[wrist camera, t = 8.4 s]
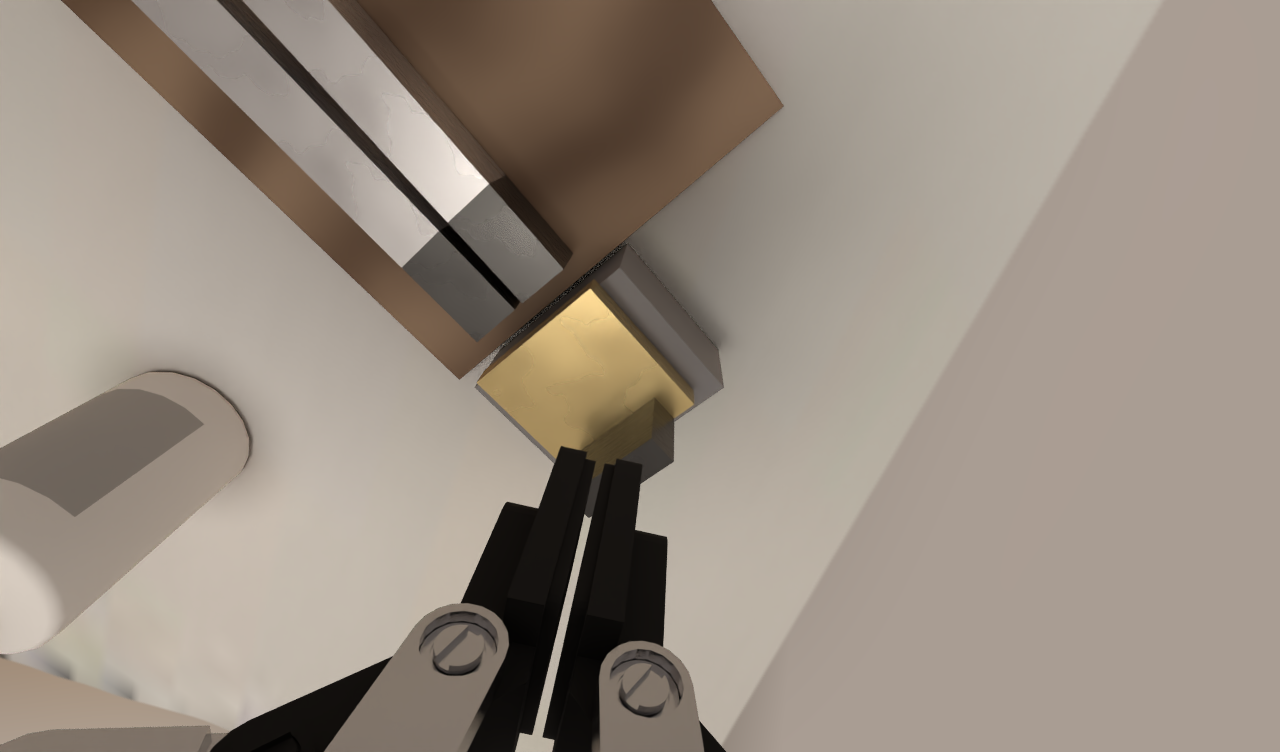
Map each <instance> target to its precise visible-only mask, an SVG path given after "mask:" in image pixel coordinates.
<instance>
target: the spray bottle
mask: <svg viewBox="0 0 1280 752" xmlns="http://www.w3.org/2000/svg"><path fill="white" fill-rule="evenodd" d="M248 456H249V437H248V434H247V431H246V428H245V425H244V422H243V420H242V419H241V418H240V416H239V415H238V413H237V412H236V410H235V409H234V407H233V406H232V405H231V404H230V403H229V402H228V401H227V400H226V399H225V398H224V397H222V396H221V395H220V394H219V393H218V392H217V391H216V390H214V389H213V388H211V387H209V386H207V385H205V384H204V383H202V382H200V381H198V380H196V379H195V378H191V377H188V376H184V375H181V374H177V373H174V372H148V373H145V374H142V375H139V376H136V377H133V378H130V379H128V380H127V381H125V382H123V383H121V384H119V385H117V386H115V387H113V388H112V389H110V390H108V391H106V392H104V393H102V394H100V395H99V396H97V397H95V398H93V399H91V400H89V401H87V402H86V403H84V404H82V405H80V406H78V407H76V408H74V409H73V410H71V411H69V412H67V413H65V414H63V415H61V416H59V417H58V418H56V419H54V420H52V421H50V422H48V423H46V424H45V425H43V426H41V427H39V428H37V429H35V430H33V431H32V432H30V433H28V434H26V435H24V436H22V437H20V438H19V439H17V440H15V441H13V442H11V443H9V444H7V445H6V446H4V447H2V448H0V654H12V653H18V652H23V651H27V650H31V649H35V648H38V647H40V646H42V645H44V644H45V643H47V642H48V641H49V640H51V639H52V638H53V637H55V636H56V635H57V634H59V633H60V632H61V631H62V630H63V629H65V628H66V627H67V626H68V625H69V624H70V623H71V622H72V621H74V620H75V619H76V618H77V617H78V616H79V615H80V614H81V613H83V612H84V611H85V610H86V609H87V608H88V607H89V606H90V605H92V604H93V603H94V602H95V601H96V600H97V599H98V598H100V597H101V596H102V595H103V594H104V593H105V592H106V591H107V590H109V589H110V588H111V587H112V586H113V585H114V584H115V583H116V582H118V581H119V580H120V579H121V578H122V577H123V576H124V575H125V574H127V573H128V572H129V571H130V570H131V569H132V568H133V567H134V566H136V565H137V564H138V563H139V562H140V561H141V560H142V559H143V558H145V557H146V556H147V555H148V554H149V553H150V552H151V551H152V550H154V549H155V548H156V547H157V546H158V545H159V544H160V543H162V542H163V541H164V540H165V539H166V538H167V537H168V536H169V535H171V534H172V533H173V532H174V531H175V530H176V529H177V528H178V527H180V526H181V525H182V524H183V523H184V522H185V521H186V520H187V519H189V518H190V517H191V516H192V515H193V514H194V513H195V512H196V511H198V510H199V509H200V508H201V507H202V506H203V505H204V504H205V503H207V502H208V501H209V500H210V499H211V498H212V497H213V496H214V495H216V494H217V493H218V492H219V491H220V490H221V489H222V488H223V487H225V486H226V485H227V484H228V483H229V482H230V481H231V480H233V479H234V478H235V477H236V476H237V475H238V474H239V473H240V472H241V471H242V469H243V467H244V465H245V463H246V461H247V459H248Z"/></svg>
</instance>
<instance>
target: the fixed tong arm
mask: <svg viewBox="0 0 1280 752" xmlns="http://www.w3.org/2000/svg"><path fill="white" fill-rule="evenodd" d="M131 1H132V2H134V3H135V4H136V5H137V6H138V7H139V8H140V9H141V10H142V11H143V12H144V13H145V14H146V15H147V16H148V17H149V18H150V19H151V20H152V21H153V22H154V23H155V24H156V25H157V26H158V27H159V28H160V29H161V30H162V31H163V32H164V33H165V34H166V35H167V36H168V37H169V38H170V39H171V40H172V41H173V42H174V43H175V44H176V45H177V46H178V47H179V48H180V49H181V50H182V51H183V52H184V53H185V54H186V55H187V56H188V57H189V58H190V59H191V60H192V61H193V62H194V63H195V64H196V65H197V66H198V67H199V68H200V69H201V70H202V71H203V72H204V73H205V74H206V75H207V76H208V77H209V78H210V79H211V80H212V81H213V82H214V83H215V84H216V85H217V86H218V87H219V88H220V89H221V90H222V91H223V92H224V93H225V94H226V95H227V96H229V97H230V98H231V99H232V100H233V101H234V102H235V103H236V104H237V105H238V106H239V107H240V108H241V109H242V110H243V111H244V112H245V113H246V114H247V115H248V116H249V117H250V118H251V119H252V120H253V121H254V122H255V123H256V124H257V125H258V126H259V127H260V128H261V129H262V130H263V131H264V132H265V133H266V134H267V135H268V136H269V137H270V138H271V139H272V140H273V141H274V142H275V143H276V144H277V145H278V146H279V147H280V148H281V149H282V150H283V151H284V152H285V153H286V154H287V155H288V156H289V157H290V158H291V159H292V160H293V161H294V162H295V163H296V164H297V165H298V166H299V167H300V168H301V169H302V170H303V171H304V172H305V173H306V174H307V175H308V176H309V177H310V178H311V179H312V180H313V181H314V182H315V183H316V184H317V185H318V186H319V187H320V188H321V189H322V190H323V191H325V192H326V193H327V194H328V195H329V196H330V197H331V198H332V199H333V200H334V201H335V202H336V203H337V204H338V205H339V206H340V207H341V208H342V209H343V210H344V211H345V212H346V213H347V214H348V215H349V216H350V217H351V218H352V219H353V220H354V221H355V222H356V223H357V224H358V225H359V226H360V227H361V228H362V229H363V230H364V231H365V232H366V233H367V234H368V235H369V236H370V237H371V238H372V239H373V240H374V241H375V242H376V243H377V244H378V245H379V246H380V247H381V248H382V249H383V250H384V251H385V252H386V253H387V254H388V255H389V256H390V257H391V258H392V259H393V260H394V261H395V262H396V263H397V264H398V265H399V266H400V267H401V268H402V269H403V270H404V271H405V272H406V273H407V274H408V275H409V276H410V277H411V278H412V279H413V280H414V281H415V282H416V283H417V284H418V285H420V286H421V287H422V288H423V289H424V290H425V291H426V292H427V293H428V294H429V295H430V296H431V297H432V298H433V299H434V300H435V301H436V302H437V303H438V304H439V305H440V306H441V307H442V308H443V309H444V310H445V311H446V312H447V313H448V314H449V315H450V316H451V317H452V318H453V319H454V320H455V321H456V322H457V323H458V324H459V325H460V326H461V327H462V328H463V329H464V330H465V331H466V332H467V333H468V334H469V335H470V336H471V337H472V338H473V339H474V340H475V341H476V342H478V341H479V340H480V339H482V338H483V337H484V336H485V335H486V334H487V333H489V332H490V331H491V330H492V329H493V328H494V327H495V326H497V325H498V324H499V323H500V322H501V321H502V320H504V319H505V318H506V317H507V316H508V315H509V314H511V313H512V312H513V311H514V310H515V309H516V308H517V306H518V305H519V303H520V300H519V299H518V298H517V297H516V296H515V295H514V294H513V293H512V292H511V291H510V290H509V289H508V287H507V286H506V285H505V284H504V283H503V282H502V281H501V280H500V279H499V278H498V277H497V275H496V274H495V273H494V272H493V271H492V270H491V269H490V268H489V267H488V266H487V265H486V264H485V262H484V261H483V260H482V259H481V258H480V257H479V256H478V255H477V254H476V253H475V252H474V251H473V249H472V248H471V247H470V246H469V245H468V244H467V243H466V242H465V241H464V240H463V239H462V238H461V236H460V235H459V234H458V233H457V232H456V231H455V230H454V229H453V228H452V227H451V226H450V225H449V223H448V222H447V221H446V220H445V219H444V218H443V217H442V216H441V215H440V214H439V213H438V212H437V210H436V209H435V208H434V207H433V206H432V205H431V204H430V203H429V202H428V201H427V200H426V199H425V197H424V196H423V195H422V194H421V193H420V192H419V191H418V190H417V189H416V188H415V187H414V186H413V184H412V183H411V182H410V181H409V180H408V179H407V178H406V177H405V176H404V175H403V174H402V173H401V171H400V170H399V169H398V168H397V167H396V166H395V165H394V164H393V163H392V162H391V161H390V160H389V158H388V157H387V156H386V155H385V154H384V153H383V152H382V151H381V150H380V149H379V148H378V147H377V145H376V144H375V143H374V142H373V141H372V140H371V139H370V138H369V137H368V136H367V135H366V134H365V132H364V131H363V130H362V129H361V128H360V127H359V126H358V125H357V124H356V123H355V122H354V121H353V119H352V118H351V117H350V116H349V115H348V114H347V113H346V112H345V111H344V110H343V109H342V108H341V106H340V105H339V104H338V103H337V102H336V101H335V100H334V99H333V98H332V97H331V96H330V95H329V93H328V92H327V91H326V90H325V89H324V88H323V87H322V86H321V85H320V84H319V83H318V82H317V80H316V79H315V78H314V77H313V76H312V75H311V74H310V73H309V72H308V71H307V70H306V69H305V67H304V66H303V65H302V64H301V63H300V62H299V61H298V60H297V59H296V58H295V57H294V56H293V54H292V53H291V52H290V51H289V50H288V49H287V48H286V47H285V46H284V45H283V44H282V43H281V41H280V40H279V39H278V38H277V37H276V36H275V35H274V34H273V33H272V32H271V31H270V30H269V28H268V27H267V26H266V25H265V24H264V23H263V22H262V21H261V20H260V19H259V18H258V17H257V15H256V14H255V13H254V12H253V11H252V10H251V9H250V8H249V7H248V6H247V5H246V4H245V2H244V1H243V0H131Z"/></svg>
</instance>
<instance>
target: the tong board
mask: <svg viewBox="0 0 1280 752" xmlns="http://www.w3.org/2000/svg"><path fill="white" fill-rule="evenodd" d="M61 1H62V2H63V3H65V4H66V5H67V6H68V7H69V8H70V9H71V10H72V11H73V12H74V13H75V14H76V15H77V16H78V17H79V18H80V19H81V20H82V21H83V22H84V23H85V24H87V25H88V26H89V27H90V28H91V29H92V30H93V31H94V32H95V33H96V34H97V35H98V36H99V37H100V38H101V39H102V40H103V41H104V42H105V43H106V44H108V45H109V46H110V47H111V48H112V49H113V50H114V51H115V52H116V53H117V54H118V55H119V56H120V57H121V58H122V59H123V60H124V61H125V62H126V63H127V64H129V65H130V66H131V67H132V68H133V69H134V70H135V71H136V72H137V73H138V74H139V75H140V76H141V77H142V78H143V79H144V80H145V81H146V82H147V83H148V84H150V85H151V86H152V87H153V88H154V89H155V90H156V91H157V92H158V93H159V94H160V95H161V96H162V97H163V98H164V99H165V100H166V101H167V102H168V103H169V104H171V105H172V106H173V107H174V108H175V109H176V110H177V111H178V112H179V113H180V114H181V115H182V116H183V117H184V118H185V119H186V120H187V121H188V122H189V123H190V124H192V125H193V126H194V127H195V128H196V129H197V130H198V131H199V132H200V133H201V134H202V135H203V136H204V137H205V138H206V139H207V140H208V141H209V142H210V143H211V144H213V145H214V146H215V147H216V148H217V149H218V150H219V151H220V152H221V153H222V154H223V155H224V156H225V157H226V158H227V159H228V160H229V161H230V162H231V163H232V164H234V165H235V166H236V167H237V168H238V169H239V170H240V171H241V172H242V173H243V174H244V175H245V176H246V177H247V178H248V179H249V180H250V181H251V182H252V183H253V184H255V185H256V186H257V187H258V188H259V189H260V190H261V191H262V192H263V193H264V194H265V195H266V196H267V197H268V198H269V199H270V200H271V201H272V202H273V203H274V204H276V205H277V206H278V207H279V208H280V209H281V210H282V211H283V212H284V213H285V214H286V215H287V216H288V217H289V218H290V219H291V220H292V221H293V222H294V223H295V224H297V225H298V226H299V227H300V228H301V229H302V230H303V231H304V232H305V233H306V234H307V235H308V236H309V237H310V238H311V239H312V240H313V241H314V242H315V243H316V244H317V245H319V246H320V247H321V248H322V249H323V250H324V251H325V252H326V253H327V254H328V255H329V256H330V257H331V258H332V259H333V260H334V261H335V262H336V263H337V264H338V265H340V266H341V267H342V268H343V269H344V270H345V271H346V272H347V273H348V274H349V275H350V276H351V277H352V278H353V279H354V280H355V281H356V282H357V283H358V284H359V285H361V286H362V287H363V288H364V289H365V290H366V291H367V292H368V293H369V294H370V295H371V296H372V297H373V298H374V299H375V300H376V301H377V302H378V303H379V304H380V305H382V306H383V307H384V308H385V309H386V310H387V311H388V312H389V313H390V314H391V315H392V316H393V317H394V318H395V319H396V320H397V321H398V322H399V323H400V324H401V325H403V326H404V327H405V328H406V329H407V330H408V331H409V332H410V333H411V334H412V335H413V336H414V337H415V338H416V339H417V340H418V341H419V342H420V343H421V344H422V345H424V346H425V347H426V348H427V349H428V350H429V351H430V352H431V353H432V354H433V355H434V356H435V357H436V358H437V359H438V360H439V361H440V362H441V363H442V364H443V365H445V366H446V367H447V368H448V369H449V370H450V371H451V372H452V373H453V374H454V375H455V376H456V377H457V378H458V379H459V380H460V379H461V378H462V377H463V376H464V375H466V374H467V373H468V372H469V371H470V370H471V369H473V368H474V367H475V366H476V365H477V364H479V363H480V362H481V361H482V360H483V359H484V358H486V357H487V356H488V355H489V354H490V353H492V352H493V351H494V350H495V349H496V348H498V347H499V346H500V345H501V344H502V343H503V342H505V341H506V340H507V339H508V338H509V337H511V336H512V335H513V334H514V333H515V332H516V331H518V330H519V329H520V328H521V327H522V326H524V325H525V324H526V323H527V322H528V321H530V320H531V319H532V318H533V317H534V316H535V315H537V314H538V313H539V312H540V311H541V310H543V309H544V308H545V307H546V306H547V305H548V304H550V303H551V302H552V301H553V300H554V299H556V298H557V297H558V296H559V295H560V294H562V293H563V292H564V291H565V290H566V289H567V288H569V287H570V286H571V285H572V284H573V283H575V282H576V281H577V280H578V279H579V278H580V277H582V276H583V275H584V274H585V273H586V272H588V271H589V270H590V269H591V268H592V267H594V266H595V265H596V264H597V263H598V262H599V261H601V260H602V259H603V258H604V257H605V256H607V255H608V254H609V253H610V252H611V251H612V250H614V249H615V248H616V247H617V246H618V245H620V244H621V243H622V242H623V241H624V240H626V239H627V238H628V237H629V236H630V235H631V234H633V233H634V232H635V231H636V230H637V229H639V228H640V227H641V226H642V225H643V224H644V223H646V222H647V221H648V220H649V219H650V218H652V217H653V216H654V215H655V214H656V213H658V212H659V211H660V210H661V209H662V208H663V207H665V206H666V205H667V204H668V203H669V202H671V201H672V200H673V199H674V198H675V197H677V196H678V195H679V194H680V193H681V192H682V191H684V190H685V189H686V188H687V187H688V186H690V185H691V184H692V183H693V182H694V181H695V180H697V179H698V178H699V177H700V176H701V175H703V174H704V173H705V172H706V171H707V170H709V169H710V168H711V167H712V166H713V165H714V164H716V163H717V162H718V161H719V160H720V159H722V158H723V157H724V156H725V155H726V154H727V153H729V152H730V151H731V150H732V149H733V148H735V147H736V146H737V145H738V144H739V143H741V142H742V141H743V140H744V139H745V138H746V137H748V136H749V135H750V134H751V133H752V132H754V131H755V130H756V129H757V128H758V127H759V126H761V125H762V124H763V123H764V122H765V121H767V120H768V119H769V118H770V117H771V116H773V115H774V114H775V113H776V112H777V111H778V110H780V109H781V108H782V107H783V104H782V103H781V101H780V100H779V98H778V97H777V96H776V94H775V93H774V91H773V90H772V88H771V87H770V85H769V84H768V82H767V81H766V79H765V78H764V77H763V75H762V74H761V72H760V71H759V69H758V68H757V66H756V65H755V63H754V62H753V61H752V59H751V58H750V56H749V55H748V53H747V52H746V50H745V49H744V47H743V46H742V45H741V43H740V42H739V40H738V39H737V37H736V36H735V34H734V33H733V31H732V30H731V29H730V27H729V26H728V24H727V23H726V21H725V20H724V18H723V17H722V15H721V14H720V13H719V11H718V10H717V8H716V7H715V5H714V4H713V2H712V1H711V0H356V1H357V2H358V3H359V4H360V6H361V7H362V8H363V9H364V10H365V11H366V13H367V14H368V15H369V16H370V17H371V18H372V20H373V21H374V22H375V23H376V24H377V25H378V27H379V28H380V29H381V30H382V31H383V32H384V34H385V35H386V36H387V37H388V38H389V39H390V41H391V42H392V43H393V44H394V45H395V46H396V47H397V49H398V50H399V51H400V52H401V53H402V54H403V56H404V57H405V58H406V59H407V60H408V61H409V63H410V64H411V65H412V66H413V67H414V68H415V70H416V71H417V72H418V73H419V74H420V75H421V77H422V78H423V79H424V80H425V81H426V82H427V84H428V85H429V86H430V87H431V88H432V89H433V91H434V92H435V93H436V94H437V95H438V96H439V98H440V99H441V100H442V101H443V102H444V103H445V104H446V106H447V107H448V108H449V109H450V110H451V111H452V113H453V114H454V115H455V116H456V117H457V118H458V120H459V121H460V122H461V123H462V124H463V125H464V127H465V128H466V129H467V130H468V131H469V132H470V134H471V135H472V136H473V137H474V138H475V139H476V141H477V142H478V143H479V144H480V145H481V146H482V148H483V149H484V150H485V151H486V152H487V153H488V155H489V156H490V157H491V158H492V159H493V160H494V162H495V163H496V164H497V165H498V166H499V167H500V168H501V170H502V171H503V172H504V173H505V174H506V175H507V177H508V178H509V179H510V180H511V181H512V182H513V184H514V185H515V186H516V187H517V188H518V189H519V191H520V192H521V193H522V194H523V195H524V196H525V198H526V199H527V200H528V201H529V202H530V203H531V205H532V206H533V207H534V208H535V209H536V210H537V212H538V213H539V214H540V215H541V216H542V217H543V219H544V220H545V221H546V222H547V223H548V224H549V226H550V227H551V228H552V229H553V230H554V231H555V232H556V234H557V235H558V236H559V237H560V238H561V239H562V241H563V242H564V243H565V244H566V245H567V246H568V248H569V249H570V250H571V251H572V252H573V255H572V257H571V258H570V260H569V261H568V263H567V265H566V266H565V268H564V269H563V270H562V271H561V272H560V273H559V274H557V275H556V276H555V277H554V278H553V279H551V280H550V281H549V282H548V283H547V284H545V285H544V286H543V287H542V288H540V289H539V290H538V291H537V292H536V293H534V294H533V295H532V296H531V297H530V298H528V299H527V300H526V301H525V302H524V303H521V302H520V303H519V305H518V306H517V308H516V309H515V310H514V311H513V312H512V313H511V314H509V315H508V316H507V317H506V318H505V319H504V320H502V321H501V322H500V323H499V324H498V325H497V326H495V327H494V328H493V329H492V330H491V331H490V332H489V333H487V334H486V335H485V336H484V337H483V338H482V339H480V340H479V341H478V342H476V341H475V340H474V339H473V338H472V337H471V336H470V335H469V334H468V333H467V332H466V331H465V330H464V329H463V328H462V327H461V326H460V325H459V324H458V323H457V322H456V321H455V320H454V319H453V318H452V317H451V316H450V315H449V314H448V313H447V312H446V311H445V310H444V309H443V308H442V307H441V306H440V305H439V304H438V303H437V302H436V301H435V300H434V299H433V298H432V297H431V296H430V295H429V294H428V293H427V292H426V291H425V290H424V289H423V288H422V287H421V286H420V285H418V284H417V283H416V282H415V281H414V280H413V279H412V278H411V277H410V276H409V275H408V274H407V273H406V272H405V271H404V270H403V269H402V268H401V267H400V266H399V265H398V264H397V263H396V262H395V261H394V260H393V259H392V258H391V257H390V256H389V255H388V254H387V253H386V252H385V251H384V250H383V249H382V248H381V247H380V246H379V245H378V244H377V243H376V242H375V241H374V240H373V239H372V238H371V237H370V236H369V235H368V234H367V233H366V232H365V231H364V230H363V229H362V228H361V227H360V226H359V225H358V224H357V223H356V222H355V221H354V220H353V219H352V218H351V217H350V216H349V215H348V214H347V213H346V212H345V211H344V210H343V209H342V208H341V207H340V206H339V205H338V204H337V203H336V202H335V201H334V200H333V199H332V198H331V197H330V196H329V195H328V194H327V193H326V192H325V191H323V190H322V189H321V188H320V187H319V186H318V185H317V184H316V183H315V182H314V181H313V180H312V179H311V178H310V177H309V176H308V175H307V174H306V173H305V172H304V171H303V170H302V169H301V168H300V167H299V166H298V165H297V164H296V163H295V162H294V161H293V160H292V159H291V158H290V157H289V156H288V155H287V154H286V153H285V152H284V151H283V150H282V149H281V148H280V147H279V146H278V145H277V144H276V143H275V142H274V141H273V140H272V139H271V138H270V137H269V136H268V135H267V134H266V133H265V132H264V131H263V130H262V129H261V128H260V127H259V126H258V125H257V124H256V123H255V122H254V121H253V120H252V119H251V118H250V117H249V116H248V115H247V114H246V113H245V112H244V111H243V110H242V109H241V108H240V107H239V106H238V105H237V104H236V103H235V102H234V101H233V100H232V99H231V98H230V97H229V96H227V95H226V94H225V93H224V92H223V91H222V90H221V89H220V88H219V87H218V86H217V85H216V84H215V83H214V82H213V81H212V80H211V79H210V78H209V77H208V76H207V75H206V74H205V73H204V72H203V71H202V70H201V69H200V68H199V67H198V66H197V65H196V64H195V63H194V62H193V61H192V60H191V59H190V58H189V57H188V56H187V55H186V54H185V53H184V52H183V51H182V50H181V49H180V48H179V47H178V46H177V45H176V44H175V43H174V42H173V41H172V40H171V39H170V38H169V37H168V36H167V35H166V34H165V33H164V32H163V31H162V30H161V29H160V28H159V27H158V26H157V25H156V24H155V23H154V22H153V21H152V20H151V19H150V18H149V17H148V16H147V15H146V14H145V13H144V12H143V11H142V10H141V9H140V8H139V7H138V6H137V5H136V4H135V3H134V2H132V1H131V0H61Z"/></svg>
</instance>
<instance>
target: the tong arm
mask: <svg viewBox="0 0 1280 752" xmlns="http://www.w3.org/2000/svg"><path fill="white" fill-rule="evenodd" d="M243 1H244V2H245V4H246V5H247V6H248V7H249V8H250V9H251V10H252V11H253V12H254V13H255V14H256V15H257V17H258V18H259V19H260V20H261V21H262V22H263V23H264V24H265V25H266V26H267V27H268V28H269V30H270V31H271V32H272V33H273V34H274V35H275V36H276V37H277V38H278V39H279V40H280V41H281V43H282V44H283V45H284V46H285V47H286V48H287V49H288V50H289V51H290V52H291V53H292V54H293V56H294V57H295V58H296V59H297V60H298V61H299V62H300V63H301V64H302V65H303V66H304V67H305V69H306V70H307V71H308V72H309V73H310V74H311V75H312V76H313V77H314V78H315V79H316V80H317V82H318V83H319V84H320V85H321V86H322V87H323V88H324V89H325V90H326V91H327V92H328V93H329V95H330V96H331V97H332V98H333V99H334V100H335V101H336V102H337V103H338V104H339V105H340V106H341V108H342V109H343V110H344V111H345V112H346V113H347V114H348V115H349V116H350V117H351V118H352V119H353V121H354V122H355V123H356V124H357V125H358V126H359V127H360V128H361V129H362V130H363V131H364V132H365V134H366V135H367V136H368V137H369V138H370V139H371V140H372V141H373V142H374V143H375V144H376V145H377V147H378V148H379V149H380V150H381V151H382V152H383V153H384V154H385V155H386V156H387V157H388V158H389V160H390V161H391V162H392V163H393V164H394V165H395V166H396V167H397V168H398V169H399V170H400V171H401V173H402V174H403V175H404V176H405V177H406V178H407V179H408V180H409V181H410V182H411V183H412V184H413V186H414V187H415V188H416V189H417V190H418V191H419V192H420V193H421V194H422V195H423V196H424V197H425V199H426V200H427V201H428V202H429V203H430V204H431V205H432V206H433V207H434V208H435V209H436V210H437V212H438V213H439V214H440V215H441V216H442V217H443V218H444V219H445V220H446V221H447V222H448V223H449V225H450V226H451V227H452V228H453V229H454V230H455V231H456V232H457V233H458V234H459V235H460V236H461V238H462V239H463V240H464V241H465V242H466V243H467V244H468V245H469V246H470V247H471V248H472V249H473V251H474V252H475V253H476V254H477V255H478V256H479V257H480V258H481V259H482V260H483V261H484V262H485V264H486V265H487V266H488V267H489V268H490V269H491V270H492V271H493V272H494V273H495V274H496V275H497V277H498V278H499V279H500V280H501V281H502V282H503V283H504V284H505V285H506V286H507V287H508V289H509V290H510V291H511V292H512V293H513V294H514V295H515V296H516V297H517V298H518V299H519V300H520V302H521V303H524V302H525V301H526V300H527V299H528V298H530V297H531V296H532V295H533V294H534V293H536V292H537V291H538V290H539V289H540V288H542V287H543V286H544V285H545V284H547V283H548V282H549V281H550V280H551V279H553V278H554V277H555V276H556V275H557V274H559V273H560V272H561V271H562V270H563V269H564V268H565V266H566V265H567V263H568V261H569V260H570V258H571V257H572V255H573V252H572V251H571V250H570V249H569V248H568V246H567V245H566V244H565V243H564V242H563V241H562V239H561V238H560V237H559V236H558V235H557V234H556V232H555V231H554V230H553V229H552V228H551V227H550V226H549V224H548V223H547V222H546V221H545V220H544V219H543V217H542V216H541V215H540V214H539V213H538V212H537V210H536V209H535V208H534V207H533V206H532V205H531V203H530V202H529V201H528V200H527V199H526V198H525V196H524V195H523V194H522V193H521V192H520V191H519V189H518V188H517V187H516V186H515V185H514V184H513V182H512V181H511V180H510V179H509V178H508V177H507V175H506V174H505V173H504V172H503V171H502V170H501V168H500V167H499V166H498V165H497V164H496V163H495V162H494V160H493V159H492V158H491V157H490V156H489V155H488V153H487V152H486V151H485V150H484V149H483V148H482V146H481V145H480V144H479V143H478V142H477V141H476V139H475V138H474V137H473V136H472V135H471V134H470V132H469V131H468V130H467V129H466V128H465V127H464V125H463V124H462V123H461V122H460V121H459V120H458V118H457V117H456V116H455V115H454V114H453V113H452V111H451V110H450V109H449V108H448V107H447V106H446V104H445V103H444V102H443V101H442V100H441V99H440V98H439V96H438V95H437V94H436V93H435V92H434V91H433V89H432V88H431V87H430V86H429V85H428V84H427V82H426V81H425V80H424V79H423V78H422V77H421V75H420V74H419V73H418V72H417V71H416V70H415V68H414V67H413V66H412V65H411V64H410V63H409V61H408V60H407V59H406V58H405V57H404V56H403V54H402V53H401V52H400V51H399V50H398V49H397V47H396V46H395V45H394V44H393V43H392V42H391V41H390V39H389V38H388V37H387V36H386V35H385V34H384V32H383V31H382V30H381V29H380V28H379V27H378V25H377V24H376V23H375V22H374V21H373V20H372V18H371V17H370V16H369V15H368V14H367V13H366V11H365V10H364V9H363V8H362V7H361V6H360V4H359V3H358V2H357V1H356V0H243Z"/></svg>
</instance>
